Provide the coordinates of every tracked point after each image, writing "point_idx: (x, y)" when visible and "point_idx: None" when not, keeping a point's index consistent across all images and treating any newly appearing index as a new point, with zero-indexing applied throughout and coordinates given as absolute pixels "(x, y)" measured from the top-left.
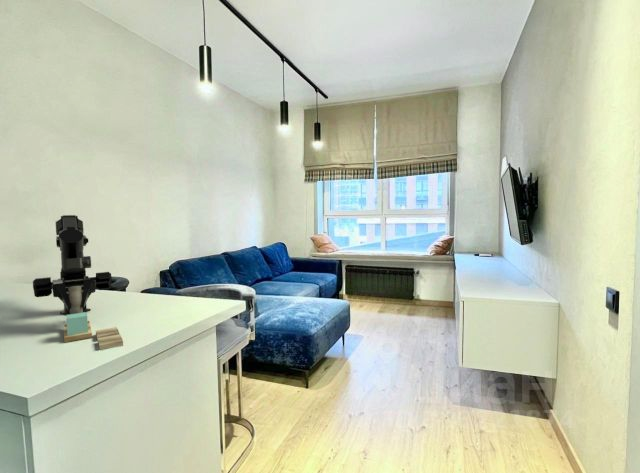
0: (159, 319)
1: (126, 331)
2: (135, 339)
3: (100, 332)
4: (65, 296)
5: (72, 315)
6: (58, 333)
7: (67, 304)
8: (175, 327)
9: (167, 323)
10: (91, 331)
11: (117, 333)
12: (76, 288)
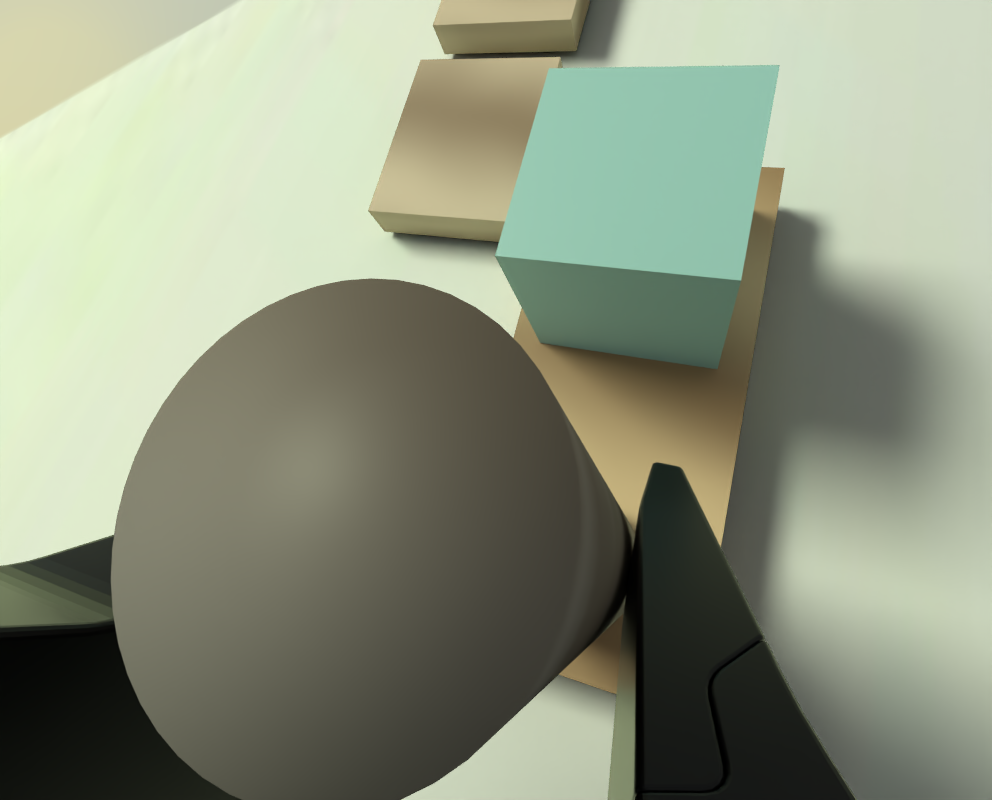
0: (80, 327)
1: (344, 202)
2: (391, 11)
3: (505, 147)
4: (699, 632)
5: (678, 193)
6: (768, 613)
7: (679, 492)
8: (154, 89)
9: (121, 196)
10: None
11: (433, 61)
12: (367, 292)
